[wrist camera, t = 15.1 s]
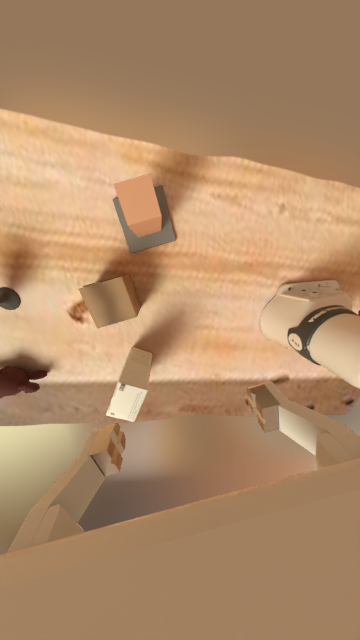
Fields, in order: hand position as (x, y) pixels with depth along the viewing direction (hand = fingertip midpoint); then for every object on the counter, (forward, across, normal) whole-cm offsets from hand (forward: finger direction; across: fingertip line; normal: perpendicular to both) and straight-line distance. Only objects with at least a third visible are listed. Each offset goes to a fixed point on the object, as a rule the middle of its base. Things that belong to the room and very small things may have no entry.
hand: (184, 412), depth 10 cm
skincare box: (+32, +13, +14) cm, 37 cm away
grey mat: (+32, 0, -17) cm, 37 cm away
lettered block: (+32, +11, -4) cm, 34 cm away
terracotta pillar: (+32, 0, -17) cm, 36 cm away
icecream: (+32, +42, +8) cm, 53 cm away
